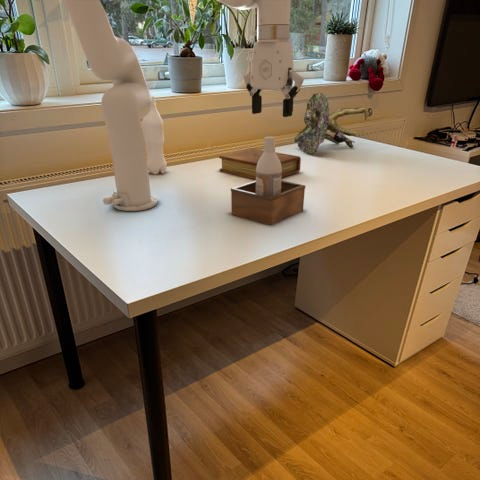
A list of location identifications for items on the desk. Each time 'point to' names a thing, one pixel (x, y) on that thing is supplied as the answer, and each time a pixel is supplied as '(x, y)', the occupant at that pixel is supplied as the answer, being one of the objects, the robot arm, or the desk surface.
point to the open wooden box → (267, 202)
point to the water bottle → (154, 140)
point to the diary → (247, 162)
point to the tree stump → (323, 125)
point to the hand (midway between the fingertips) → (271, 114)
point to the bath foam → (268, 170)
